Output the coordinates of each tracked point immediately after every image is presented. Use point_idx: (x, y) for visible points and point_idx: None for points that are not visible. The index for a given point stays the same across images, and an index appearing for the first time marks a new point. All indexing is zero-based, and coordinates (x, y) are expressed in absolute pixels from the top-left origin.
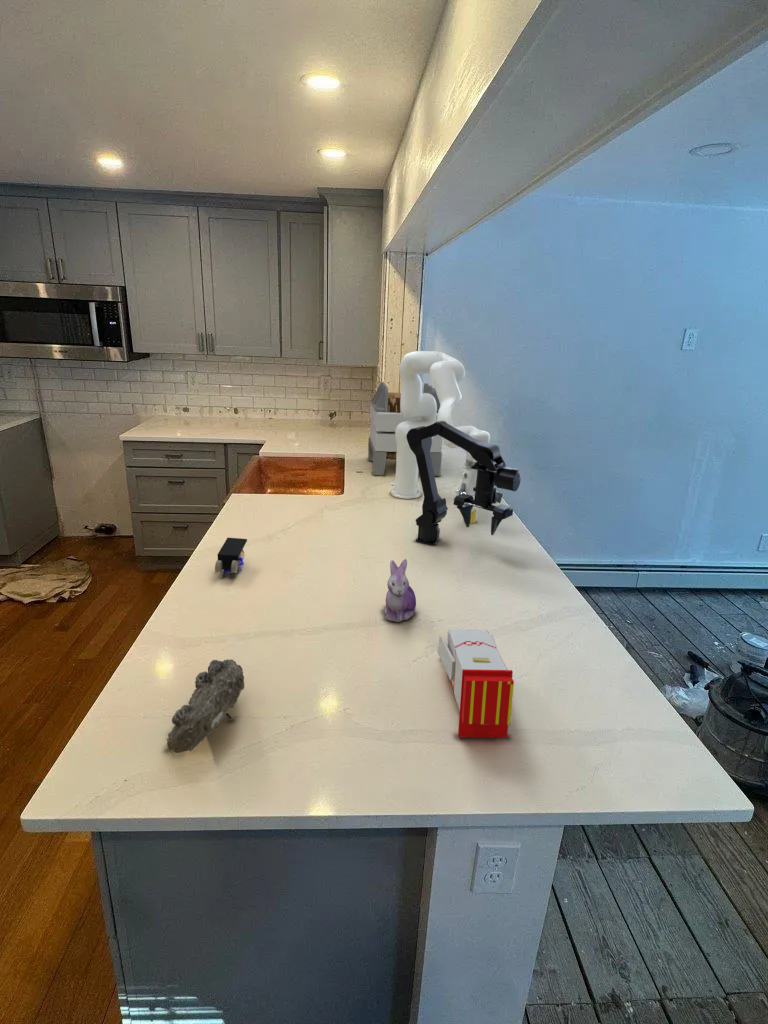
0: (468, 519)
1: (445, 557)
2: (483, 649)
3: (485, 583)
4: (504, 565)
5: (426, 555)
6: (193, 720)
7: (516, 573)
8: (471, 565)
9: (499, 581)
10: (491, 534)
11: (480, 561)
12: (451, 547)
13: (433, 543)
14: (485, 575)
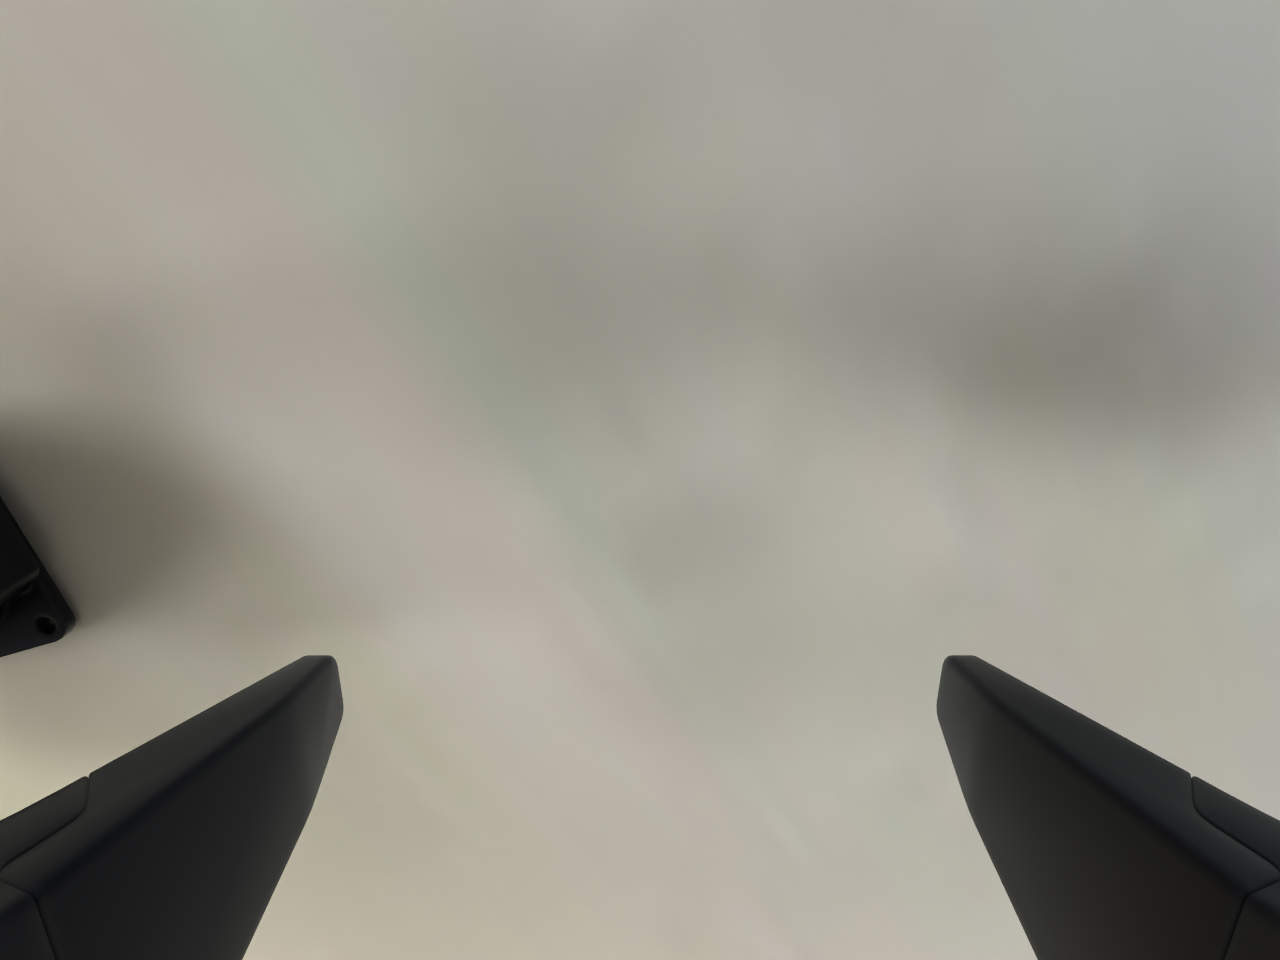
0: (245, 837)
1: (419, 769)
2: None
3: None
4: (1044, 491)
5: None
6: None
7: (1239, 578)
8: (739, 741)
9: None
10: (951, 731)
11: (761, 596)
12: (257, 507)
13: (59, 623)
14: (965, 823)
